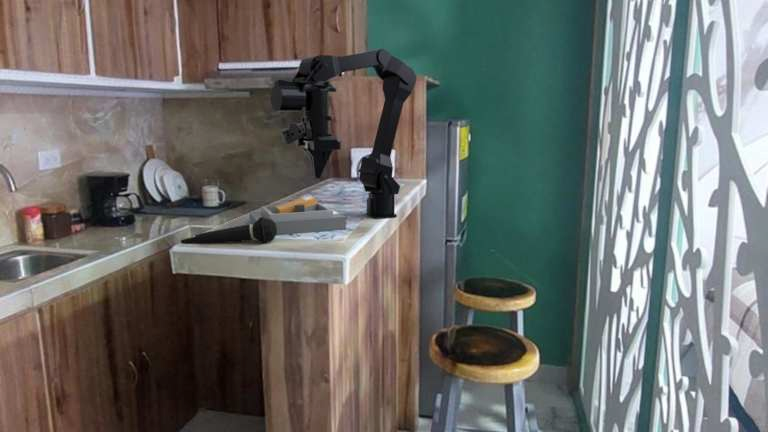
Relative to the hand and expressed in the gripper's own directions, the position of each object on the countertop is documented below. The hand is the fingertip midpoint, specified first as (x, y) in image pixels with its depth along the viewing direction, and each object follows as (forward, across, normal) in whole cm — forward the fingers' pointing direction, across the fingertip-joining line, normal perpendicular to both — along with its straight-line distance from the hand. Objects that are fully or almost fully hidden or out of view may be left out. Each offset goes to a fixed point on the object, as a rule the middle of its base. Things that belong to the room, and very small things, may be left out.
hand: (317, 178), depth 124 cm
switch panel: (+12, 0, -5) cm, 13 cm away
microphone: (+12, +9, -21) cm, 26 cm away
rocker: (+6, 0, -5) cm, 8 cm away
